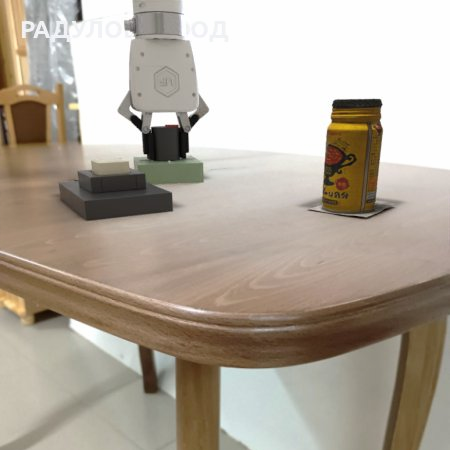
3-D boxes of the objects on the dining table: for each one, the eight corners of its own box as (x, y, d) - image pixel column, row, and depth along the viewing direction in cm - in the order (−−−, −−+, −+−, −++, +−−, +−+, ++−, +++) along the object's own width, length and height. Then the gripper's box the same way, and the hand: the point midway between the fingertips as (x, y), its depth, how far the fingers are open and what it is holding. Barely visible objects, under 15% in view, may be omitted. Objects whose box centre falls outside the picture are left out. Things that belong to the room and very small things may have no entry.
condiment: (306, 210, 57) (313, 98, 52) (340, 199, 63) (348, 98, 58) (366, 219, 52) (379, 98, 48) (395, 206, 58) (409, 98, 54)
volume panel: (134, 175, 84) (133, 156, 83) (191, 173, 86) (191, 154, 85) (139, 185, 74) (137, 163, 73) (203, 182, 76) (203, 161, 75)
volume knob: (151, 161, 77) (149, 125, 75) (154, 158, 81) (152, 124, 79) (179, 160, 77) (177, 125, 75) (180, 157, 81) (179, 123, 79)
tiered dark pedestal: (60, 199, 64) (56, 168, 62) (134, 192, 68) (132, 163, 66) (86, 221, 52) (82, 183, 51) (173, 211, 56) (171, 176, 55)
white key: (92, 174, 59) (90, 159, 59) (121, 172, 61) (119, 158, 60) (100, 178, 56) (98, 163, 56) (130, 176, 58) (128, 161, 57)
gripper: (104, 24, 66) (116, 163, 73) (222, 29, 71) (223, 159, 78) (99, 31, 73) (111, 158, 80) (208, 35, 78) (210, 154, 84)
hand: (166, 157), depth 79 cm, fingers closed on volume knob, 4 cm apart
